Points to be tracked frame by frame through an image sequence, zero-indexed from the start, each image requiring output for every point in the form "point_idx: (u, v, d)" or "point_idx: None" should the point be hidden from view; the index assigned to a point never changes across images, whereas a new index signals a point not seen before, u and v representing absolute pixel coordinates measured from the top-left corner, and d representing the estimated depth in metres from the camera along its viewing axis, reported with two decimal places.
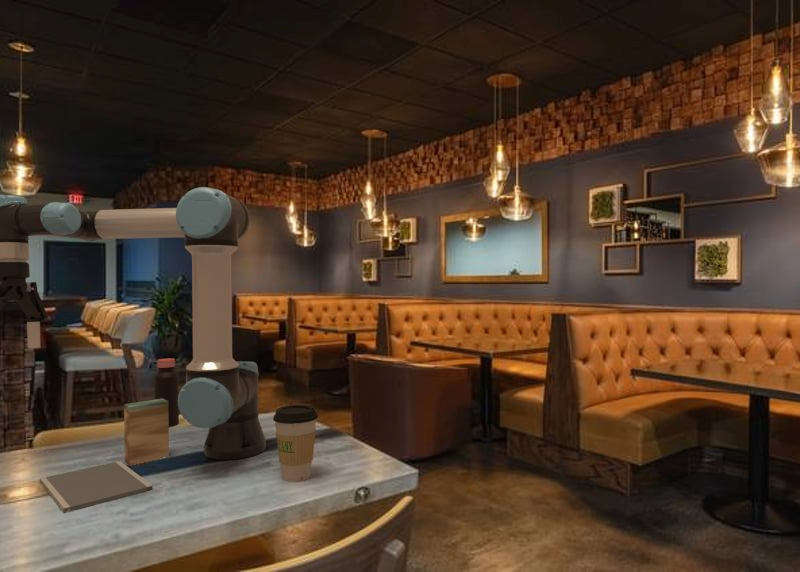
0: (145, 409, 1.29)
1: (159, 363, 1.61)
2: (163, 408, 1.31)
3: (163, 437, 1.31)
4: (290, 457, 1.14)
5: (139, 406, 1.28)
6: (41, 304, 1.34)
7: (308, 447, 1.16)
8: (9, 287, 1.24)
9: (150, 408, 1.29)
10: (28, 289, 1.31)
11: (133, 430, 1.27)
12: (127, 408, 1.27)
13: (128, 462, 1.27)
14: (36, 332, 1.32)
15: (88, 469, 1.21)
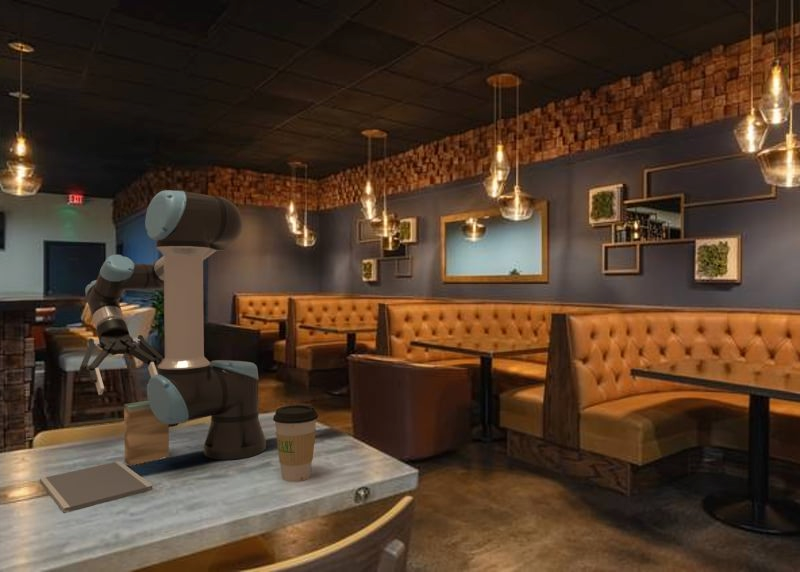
0: (145, 409, 1.29)
1: None
2: None
3: (163, 437, 1.31)
4: (290, 457, 1.14)
5: (139, 406, 1.28)
6: (152, 349, 1.48)
7: (308, 447, 1.16)
8: (109, 340, 1.43)
9: (150, 408, 1.29)
10: (136, 342, 1.49)
11: (133, 430, 1.27)
12: (127, 408, 1.27)
13: (128, 462, 1.27)
14: (153, 370, 1.44)
15: (88, 469, 1.21)
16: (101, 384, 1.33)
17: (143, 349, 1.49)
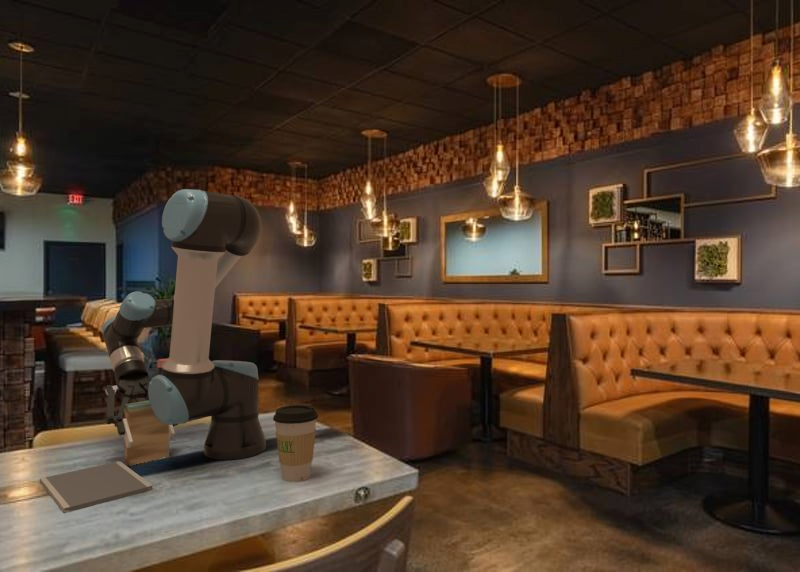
0: (145, 409, 1.29)
1: (159, 363, 1.61)
2: None
3: (163, 437, 1.31)
4: (290, 457, 1.14)
5: (139, 406, 1.28)
6: None
7: (308, 447, 1.16)
8: (128, 384, 1.35)
9: (150, 408, 1.29)
10: None
11: (133, 430, 1.27)
12: (127, 408, 1.27)
13: (128, 462, 1.27)
14: None
15: (88, 469, 1.21)
16: (129, 437, 1.25)
17: None
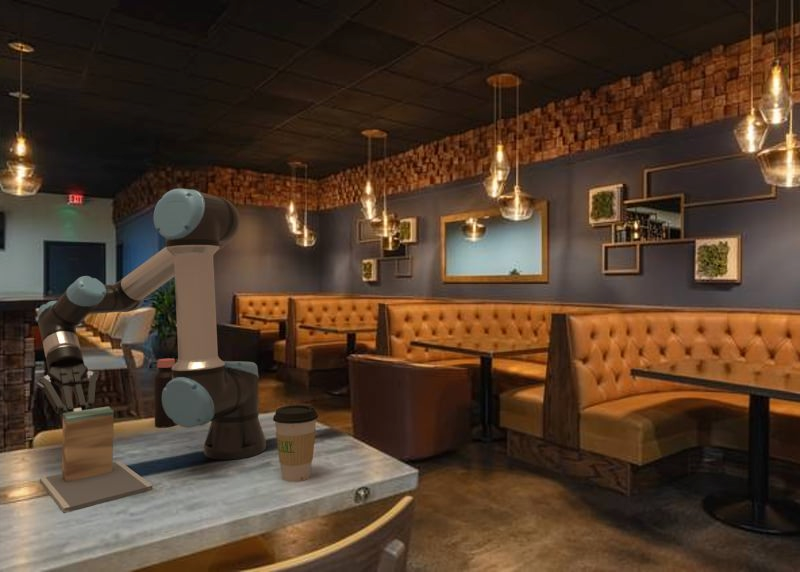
0: (86, 421, 1.15)
1: (159, 363, 1.61)
2: (107, 419, 1.18)
3: (106, 450, 1.19)
4: (290, 457, 1.14)
5: (79, 417, 1.14)
6: (92, 390, 1.27)
7: (308, 447, 1.16)
8: (59, 373, 1.26)
9: (92, 419, 1.16)
10: (88, 376, 1.30)
11: (71, 443, 1.14)
12: (65, 419, 1.14)
13: (64, 477, 1.15)
14: None
15: None
16: None
17: None
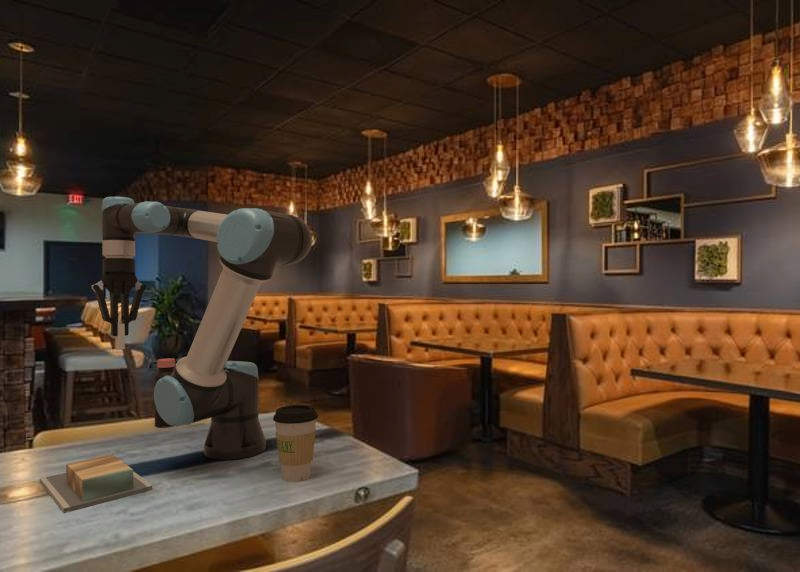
0: None
1: (159, 363, 1.61)
2: None
3: None
4: (290, 457, 1.14)
5: (96, 497, 1.05)
6: (137, 306, 1.40)
7: (308, 447, 1.16)
8: (112, 283, 1.36)
9: None
10: (136, 287, 1.40)
11: None
12: (82, 492, 1.04)
13: (66, 477, 1.13)
14: (121, 334, 1.37)
15: None
16: (120, 344, 1.37)
17: (134, 297, 1.41)
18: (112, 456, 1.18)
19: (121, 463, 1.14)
